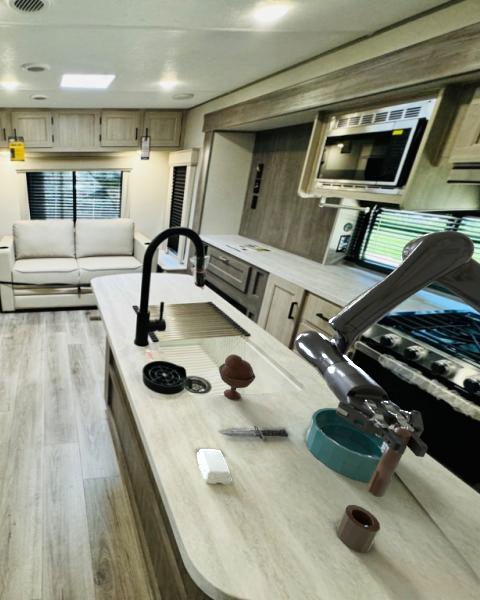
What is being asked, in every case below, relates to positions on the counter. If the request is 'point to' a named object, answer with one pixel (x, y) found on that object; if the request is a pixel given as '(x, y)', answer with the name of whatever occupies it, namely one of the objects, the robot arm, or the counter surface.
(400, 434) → the brown rounded rod
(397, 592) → the counter surface
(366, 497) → the counter surface
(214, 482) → the soap
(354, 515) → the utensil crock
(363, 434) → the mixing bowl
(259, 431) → the knife
